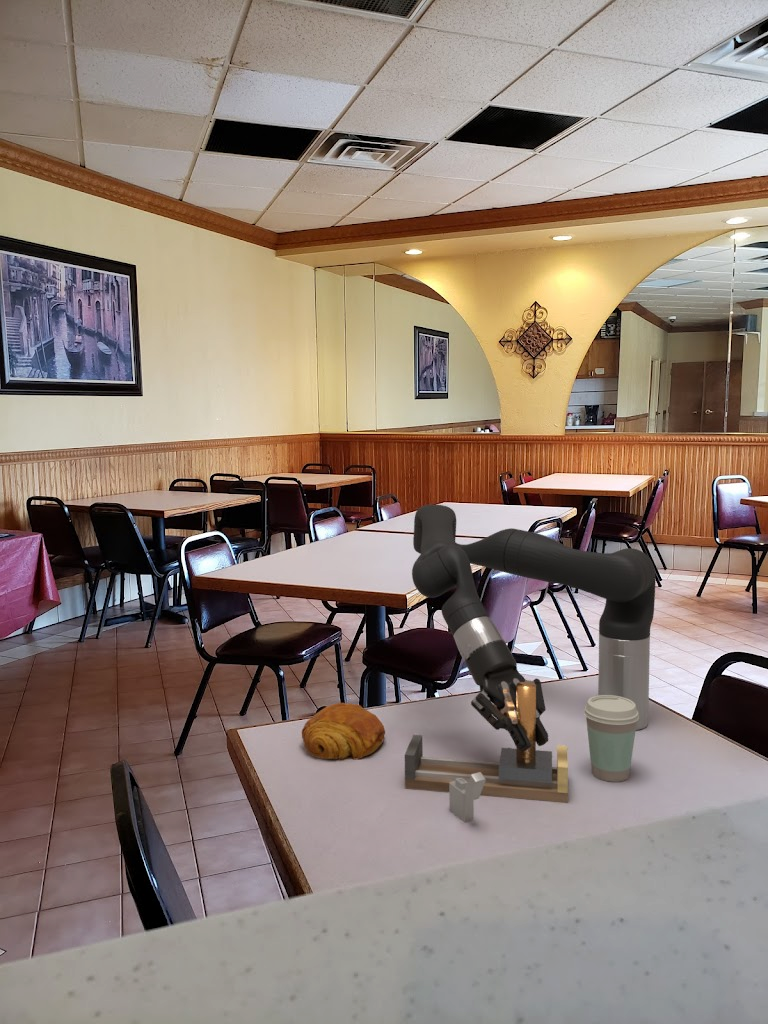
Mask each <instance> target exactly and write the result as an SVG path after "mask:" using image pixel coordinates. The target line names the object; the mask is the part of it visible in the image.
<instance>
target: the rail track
mask: <svg viewBox="0 0 768 1024" xmlns="http://www.w3.org/2000/svg"><path fill="white" fill-rule="evenodd" d="M423 746H424V745H423V735H422V734H413V735H412V736H411V740H410V742H409V743H408V747H407V749H406V750H405V754H404V788H405V789H410V790H421V791H431V792H440V793H441V792H443V793H444V792H445V793H449V783H450V782H452V781H455V779H456V778H463V779H464V780H465V781H467V782H469V779H470V776H471V775H472V774H474V773H478V772H481V773H482V775H483V776H484V778H485V779H486V781H485V783H484V786H483V789H482V791H481V794H480V796H487V797H498V798H512V799H524V800H533V801H547V802H557V803H567V804H568V801H569V800H568V797H569V796H568V795H569V794H568V793H569V789H568V788H569V786H568V785H569V783H568V782H569V763H568V746H567V745H559V744H557V747H556V766H552V783H542V782H529V781H517V780H505V779H499V762H498V761H497V762H495V761H483V760H470V759H469V760H467V759H458V758H456V759H455V758H445V757H433V756H423V755H424V754H423V753H424V752H423V750H424V749H423Z"/></svg>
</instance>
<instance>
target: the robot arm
mask: <svg viewBox="0 0 768 1024" xmlns="http://www.w3.org/2000/svg"><path fill="white" fill-rule="evenodd" d="M413 521H414V523H413V538H412V539H413V541H412V543H413V545H412V546H413V550H414V551H415V552H417V553H418V554H419V556H418V557H417V558H416V560H415V561H414V563H413V565H412V570H411V577H412V582H413V584H414V586H415V588H416V589H417V591H418V592H419V593H420V594H421V595H422V596H425V597H426V598H429V599H430V598H431V599H435V598H438V597H440V596H442V595H443V594H445V593H447V592H448V591H450V590H452V589H453V588H455V587H456V590H455V591H454V593H453V594H452V595H451V596H450V597H448V599H447V600H446V601H445V602H444V603H443V605H442V607H441V614H442V618H443V620H444V621H445V623H446V625H447V627H448V629H449V631H450V633H451V636H452V637H453V639H454V641H455V644H456V645H455V646H457V647H456V648H457V649H458V652H459V654H460V656H461V658H462V659H463V661H464V663H465V665H466V667H467V670H468V671H469V673H470V675H471V677H472V679H473V681H474V683H475V685H477V686H479V692H478V694H477V695H475V697H474V698H472V700H471V702H470V705H471V707H472V708H474V710H476V711H477V712H478V713H479V714H480V716H481V717H483V719H485V721H487V723H489V724H490V725H491V726H492V727H493V729H495V730H496V731H499V730H500V729H502V730H505V731H506V732H508V734H509V735H510V738H511V739H512V741H513V743H514V746H515V748H516V747H517V748H518V749H520V751H521V752H524V751H527V750H528V749H529V748H530V747H531V743H530V741H529V739H528V737H527V735H526V733H525V731H524V730H523V728H522V726H521V724H517V723H518V720H517V717H516V684H517V683H519V682H531V683H534V684H536V745H537V746H538V747H541V746H544V745H546V743H548V741H549V733H548V731H547V730H546V728H545V726H544V725H543V723H542V721H541V719H540V718H541V715H542V714H543V713H544V712H545V711H546V710H547V709H546V704H545V698H544V694H543V687H542V682H541V680H540V679H538V678H535V679H533V680H530V679H529V680H528V679H525V677H524V676H523V675H522V674H521V673H520V672H519V671H518V666H517V664H518V663H517V661H516V659H515V657H514V655H513V653H512V652H511V650H510V648H509V646H508V645H507V643H506V641H505V639H504V638H503V636H502V634H501V632H500V630H499V629H498V627H497V626H496V624H495V623H494V622H493V620H492V619H491V617H490V616H489V614H488V612H487V610H486V608H485V606H484V604H483V603H482V600H481V599H480V597H479V594H478V591H477V587H476V584H475V580H474V576H473V575H474V574H473V571H472V569H473V568H472V565H475V566H481V567H483V568H488V569H492V570H496V571H499V572H503V573H506V574H509V575H513V576H514V575H515V576H517V577H522V578H525V579H527V578H528V579H531V580H532V579H533V580H537V581H542V582H547V583H551V584H558V585H563V586H564V585H565V586H568V587H571V588H574V589H577V590H580V591H583V592H585V593H589V594H591V595H593V596H598V597H600V598H602V599H605V605H604V609H603V611H602V614H601V616H600V618H599V621H598V676H597V677H598V682H597V683H598V687H597V688H598V691H597V694H598V695H597V696H599V695H613V696H620V697H624V698H627V699H629V700H631V701H633V702H634V703H635V705H636V709H637V711H638V715H639V719H638V720H637V723H636V731H637V730H638V731H639V730H642V729H644V728H646V727H648V725H649V703H650V700H649V698H650V697H649V695H650V658H651V657H650V655H651V654H650V652H651V651H650V649H651V648H650V646H651V645H650V644H651V643H650V642H651V628H652V627H651V626H652V622H653V620H654V616H655V615H654V614H655V600H656V569H655V566H654V563H653V561H652V559H651V558H650V557H649V556H648V554H646V553H645V552H643V551H642V550H640V549H636V548H630V547H628V548H622V549H619V550H617V551H614V552H611V553H608V552H607V553H606V552H597V551H596V552H595V551H594V552H593V551H587V550H586V551H585V550H580V549H575V548H572V547H569V546H566V545H565V544H562V543H560V542H559V541H557V540H555V539H553V538H551V537H550V536H549V537H548V536H546V535H543V534H541V533H538V532H534V531H527V530H523V529H518V528H505V529H502V530H499V531H497V532H494V533H493V534H490V535H489V536H486V537H484V538H482V539H479V540H478V541H474V542H471V543H468V544H462V543H458V542H456V537H457V535H456V534H457V515H456V511H454V509H453V508H451V507H449V506H446V505H443V504H426V505H422V506H420V507H419V508H417V510H416V512H415V515H414V520H413Z"/></svg>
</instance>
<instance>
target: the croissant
mask: <svg viewBox="0 0 768 1024" xmlns="http://www.w3.org/2000/svg"><path fill="white" fill-rule="evenodd" d="M385 734H386V730H385V726H384V724H383V722H382V721H381V720H380V719H379V717H378V716H377V715H376V714H374V713H372V712H370V711H369V710H366V708H363V707H362V706H361V705H360V704H359V703H358V704H355V703H354V704H353V703H346V702H337V703H334V704H330V705H327V706H325V707H324V708H323V709H321V710H319V711H317V712H316V713H315V714H314V715H312V717H310V719H308V720H307V721H306V722H305V724H304V726H303V728H302V730H301V739H302V740H303V744H304V747H305V749H306V750H307V752H308V753H309V754H311V755H312V756H313V757H315V758H318V759H327V760H332V759H333V760H337V759H340V760H345V759H347V758H348V759H352V760H359V759H360V760H361V759H362V758H363V757H365V756H366V757H367V756H369V755H371V754H372V753H374V752H376V751H377V749H379V748H380V746H382V744H383V742H384V740H385V737H386V736H385Z"/></svg>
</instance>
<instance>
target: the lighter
mask: <svg viewBox="0 0 768 1024" xmlns="http://www.w3.org/2000/svg"><path fill="white" fill-rule="evenodd" d="M485 781H486V779H485V778H484V776H483V775H482V773H481V772H478V773H474V774H472V775H471V776H470V779H469V782H467V781H465V780H464V779H463V778H456V779H455V781H452V782H450V783H449V792H448V793H449V794H448V795H449V811H450V812H451V813H452V814H453V815H455V816H456V818H458V819H459V820H461V821H462V822H463V823H467V822H470V821H473V820H475V817H474V816H475V815H474V813H475V812H474V811H475V810H474V807H475V805H474V804H475V802H474V801H475V800H478V799H480V797H481V795H480V794H481V791H482V789H483V786H484V783H485Z"/></svg>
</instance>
